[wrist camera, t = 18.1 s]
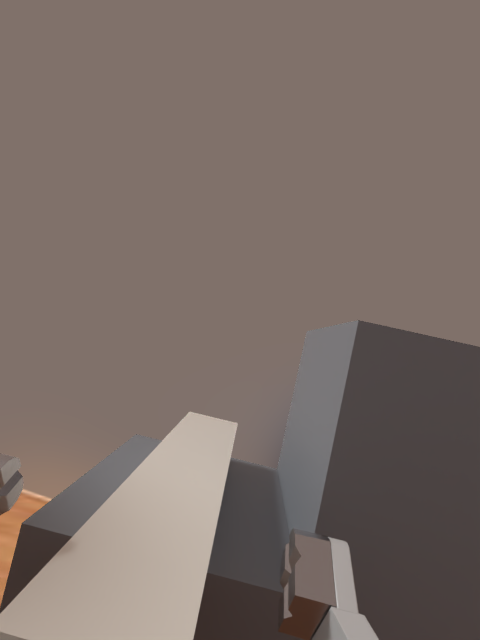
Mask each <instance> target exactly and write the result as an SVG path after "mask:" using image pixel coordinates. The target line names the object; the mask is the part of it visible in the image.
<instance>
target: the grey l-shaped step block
mask: <svg viewBox="0 0 480 640" xmlns="http://www.w3.org/2000/svg"><path fill="white" fill-rule="evenodd" d="M161 442H162V441H161V440H157V439H153V438H149V437H145V436H141V435H137V434H136V435H135V436H133V437H132V438H131V439H130V440H128V441H127V442H126V443H124V444H123V445H122V446H120V447H119V448H118V449H117V450H115V451H114V452H113V453H111V454H110V455H109V456H108V457H106V458H105V459H104V460H103V461H101V462H100V463H99V464H97V465H96V466H95V467H94V468H92V469H91V470H90V471H88V472H87V473H86V474H84V475H83V476H82V477H81V478H79V479H78V480H77V481H76V482H74V483H73V484H72V485H70V486H69V487H68V488H67V489H65V490H64V491H63V492H61V493H60V494H59V495H57V496H56V497H55V498H54V499H52V500H51V501H50V502H48V503H47V504H46V505H45V506H43V507H42V508H41V509H39V510H38V511H37V512H36V513H34V514H33V515H32V516H30V517H29V518H28V519H27V520H25V521H24V522H23V523H22V525H21V529H20V533H19V536H18V540H17V544H16V548H15V552H14V556H13V560H12V564H11V568H10V572H9V576H8V579H7V583H6V587H5V591H4V595H3V599H2V603H1V607H0V613H1V612H2V611H3V610H4V609H5V608H6V607H7V606H8V605H9V604H10V603H11V602H12V601H13V600H14V598H15V597H16V596H17V595H18V594H19V593H20V592H21V591H22V590H23V589H24V588H25V587H26V586H27V585H28V584H29V582H30V581H31V580H32V579H33V578H34V577H35V576H36V575H37V574H38V573H39V572H40V571H41V570H42V569H43V568H44V566H45V565H46V564H47V563H48V562H49V561H50V560H51V559H52V558H53V557H54V556H55V555H56V554H57V553H58V552H59V550H60V549H61V548H62V547H63V546H64V545H65V544H66V543H67V542H68V541H69V540H70V539H71V538H72V537H73V536H74V534H75V533H76V532H77V531H78V530H79V529H80V528H81V527H82V526H83V525H84V524H85V523H86V522H87V521H88V520H89V518H90V517H91V516H92V515H93V514H94V513H95V512H96V511H97V510H98V509H99V508H100V507H101V506H102V505H103V504H104V502H105V501H106V500H107V499H108V498H109V497H110V496H111V495H112V494H113V493H114V492H115V491H116V490H117V489H118V488H119V486H120V485H121V484H122V483H123V482H124V481H125V480H126V479H127V478H128V477H129V476H130V475H131V474H132V473H133V472H134V470H135V469H136V468H137V467H138V466H139V465H140V464H141V463H142V462H143V461H144V460H145V459H146V458H147V457H148V456H149V455H150V453H151V452H152V451H153V450H154V449H155V448H156V447H157V446H158V445H159V444H160V443H161ZM293 528H295V529H299V530H303V531H308V532H312V533H316V534H320V535H325V536H328V537H331V538H335V539H339V540H343V541H346V542H347V543H348V545H349V548H350V555H351V562H352V569H353V576H354V583H355V590H356V597H357V604H358V611H359V614H362V615H365V617H366V619H367V620H368V622H369V624H370V625H371V627H372V629H373V630H374V632H375V634H376V635H377V637H378V639H379V640H480V347H477V346H473V345H468V344H463V343H459V342H454V341H450V340H446V339H441V338H437V337H432V336H428V335H423V334H418V333H414V332H409V331H405V330H400V329H396V328H391V327H387V326H382V325H377V324H373V323H368V322H364V321H359V320H358V321H354V322H348V323H344V324H339V325H334V326H330V327H326V328H321V329H316V330H311V331H307V333H306V338H305V342H304V347H303V352H302V356H301V361H300V366H299V370H298V375H297V380H296V385H295V389H294V393H293V398H292V403H291V408H290V413H289V417H288V421H287V426H286V431H285V435H284V440H283V445H282V449H281V454H280V459H279V463H278V468H277V469H275V468H270V467H266V466H263V465H259V464H254V463H250V462H246V461H242V460H238V459H234V458H230V463H229V468H228V473H227V478H226V482H225V487H224V492H223V497H222V502H221V507H220V512H219V516H218V521H217V526H216V531H215V536H214V541H213V546H212V551H211V555H210V560H209V565H208V570H207V575H206V580H205V585H204V589H203V594H202V599H201V604H200V609H199V614H198V619H197V624H196V628H195V633H194V638H193V640H304V639H301V638H298V637H295V636H291V635H288V634H285V633H281V632H278V614H279V600H280V597H281V595H282V592H283V588H282V586H281V584H280V567H281V560H282V555H283V551H284V548H285V545H286V544H288V543H289V535H290V532H291V530H292V529H293Z"/></svg>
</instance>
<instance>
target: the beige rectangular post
mask: <svg viewBox="0 0 480 640" xmlns="http://www.w3.org/2000/svg"><path fill="white" fill-rule="evenodd" d="M236 429H237V423H235V422H230V421H226V420H222V419H218V418H214V417H210V416H206V415H201V414H197V413H193V412H189V413H188V414H187V415H186V416H185V417H184V418H183V420H181V421H180V423H179V424H178V425H177V426H176V427H175V428H174V429H173V430H172V431H171V432H170V433H169V434H168V435H167V436H166V437H165V439H164V440H163V441H162V442H161V443H160V444H159V445H158V446H157V447H156V448H155V449H154V450H153V451H152V452H151V453H150V455H149V456H148V457H147V458H146V459H145V460H144V461H143V462H142V463H141V464H140V465H139V466H138V467H137V468H136V469H135V470H134V472H133V473H132V474H131V475H130V476H129V477H128V478H127V479H126V480H125V481H124V482H123V483H122V484H121V485H120V486H119V488H118V489H117V490H116V491H115V492H114V493H113V494H112V495H111V496H110V497H109V498H108V499H107V500H106V501H105V502H104V504H103V505H102V506H101V507H100V508H99V509H98V510H97V511H96V512H95V513H94V514H93V515H92V516H91V517H90V518H89V520H88V521H87V522H86V523H85V524H84V525H83V526H82V527H81V528H80V529H79V530H78V531H77V532H76V533H75V534H74V536H73V537H72V538H71V539H70V540H69V541H68V542H67V543H66V544H65V545H64V546H63V547H62V548H61V549H60V550H59V552H58V553H57V554H56V555H55V556H54V557H53V558H52V559H51V560H50V561H49V562H48V563H47V564H46V565H45V566H44V568H43V569H42V570H41V571H40V572H39V573H38V574H37V575H36V576H35V577H34V578H33V579H32V580H31V581H30V582H29V584H28V585H27V586H26V587H25V588H24V589H23V590H22V591H21V592H20V593H19V594H18V595H17V596H16V597H15V598H14V600H13V601H12V602H11V603H10V604H9V605H8V606H7V607H6V608H5V609H4V610H3V611H2V612H1V613H0V640H193V638H194V633H195V628H196V624H197V619H198V614H199V609H200V604H201V599H202V594H203V589H204V585H205V580H206V575H207V570H208V565H209V560H210V555H211V551H212V546H213V541H214V536H215V531H216V526H217V521H218V516H219V512H220V507H221V502H222V497H223V492H224V487H225V482H226V478H227V473H228V468H229V463H230V458H231V453H232V448H233V443H234V439H235V434H236Z"/></svg>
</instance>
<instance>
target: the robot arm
mask: <svg viewBox="0 0 480 640" xmlns="http://www.w3.org/2000/svg"><path fill="white" fill-rule="evenodd" d="M20 466H21V464H20V460H19V458H16V457H12V456H8V455H5V454H1V453H0V515H1V514H3V513H5V512H7V511H9V510H10V509H11V507H12V506H13V505H14V504H15V502H16V501H17V499H18V497H19V495H20V493H21V491H22V488H23V483H24V482H23V476H22V475H21V474H20V473H19V472H18V469H19V468H20ZM280 584H281V586H282V588H283V592H282V595H281V597H280V600H279V614H278V632H281V633H285V634H288V635H291V636H295V637H298V638H301V639H304V640H379V639H378V637H377V635H376V634H375V632H374V630H373V629H372V627H371V625H370V624H369V622H368V620H367V619H366V617H365V615H362V614H359V611H358V604H357V597H356V590H355V583H354V576H353V569H352V562H351V555H350V548H349V545H348V543H347V542H346V541H343V540H339V539H335V538H331V537H328V536H325V535H320V534H316V533H312V532H308V531H303V530H299V529H295V528H293V529H292V530H291V532H290V535H289V543H288V544H286V545H285V548H284V551H283V555H282V560H281V567H280Z"/></svg>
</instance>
